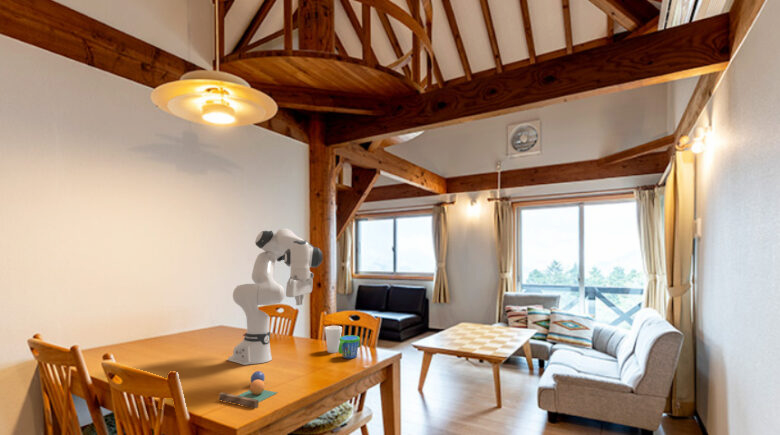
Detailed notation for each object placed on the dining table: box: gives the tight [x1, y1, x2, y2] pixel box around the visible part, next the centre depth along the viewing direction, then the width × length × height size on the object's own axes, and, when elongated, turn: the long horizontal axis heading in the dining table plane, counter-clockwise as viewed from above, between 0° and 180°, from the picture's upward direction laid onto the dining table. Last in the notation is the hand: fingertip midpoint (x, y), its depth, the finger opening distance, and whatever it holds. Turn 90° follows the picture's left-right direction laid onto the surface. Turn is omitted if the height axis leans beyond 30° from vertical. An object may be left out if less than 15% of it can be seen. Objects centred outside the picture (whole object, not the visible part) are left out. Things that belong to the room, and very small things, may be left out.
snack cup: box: [337, 334, 361, 359], centre depth 207 cm, size 16×11×10 cm
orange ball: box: [249, 379, 266, 395], centre depth 154 cm, size 6×6×6 cm
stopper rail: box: [218, 392, 259, 409], centre depth 145 cm, size 18×2×2 cm, turn 65°
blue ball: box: [250, 370, 265, 383], centre depth 165 cm, size 6×6×6 cm
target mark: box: [237, 389, 278, 403], centre depth 153 cm, size 12×12×1 cm
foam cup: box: [324, 325, 343, 354], centre depth 219 cm, size 10×9×13 cm
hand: (299, 304), depth 183 cm, fingers closed
